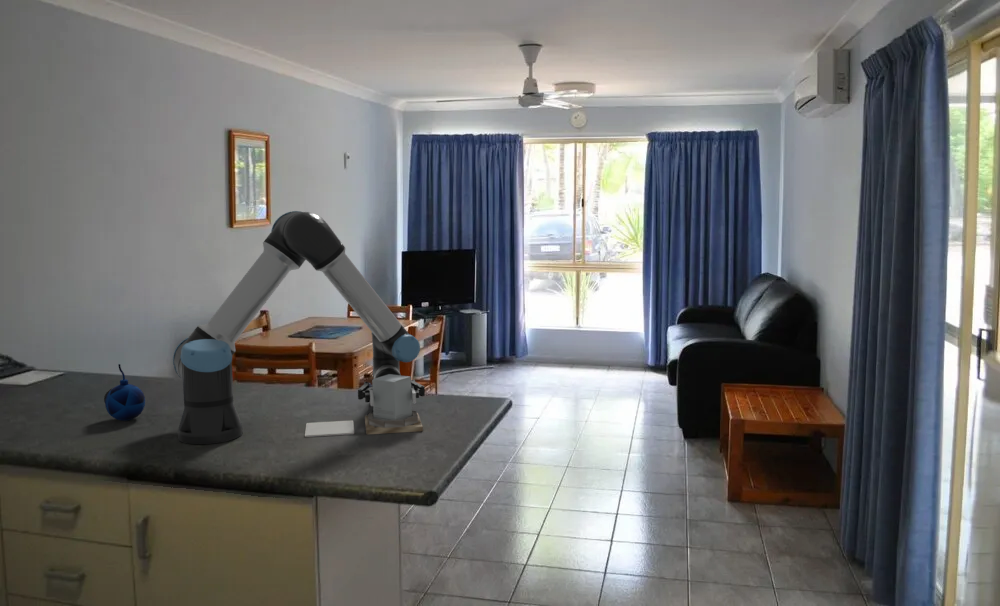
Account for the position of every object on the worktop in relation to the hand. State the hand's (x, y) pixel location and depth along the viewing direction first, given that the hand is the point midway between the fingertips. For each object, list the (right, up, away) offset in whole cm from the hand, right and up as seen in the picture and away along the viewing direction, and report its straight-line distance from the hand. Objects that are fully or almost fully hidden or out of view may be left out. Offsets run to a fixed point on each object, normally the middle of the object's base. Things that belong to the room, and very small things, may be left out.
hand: (393, 399), depth 215 cm
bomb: (-74, -7, +14) cm, 75 cm away
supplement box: (-1, -7, +5) cm, 9 cm away
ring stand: (-1, -7, +5) cm, 9 cm away
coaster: (-16, -8, +2) cm, 18 cm away
